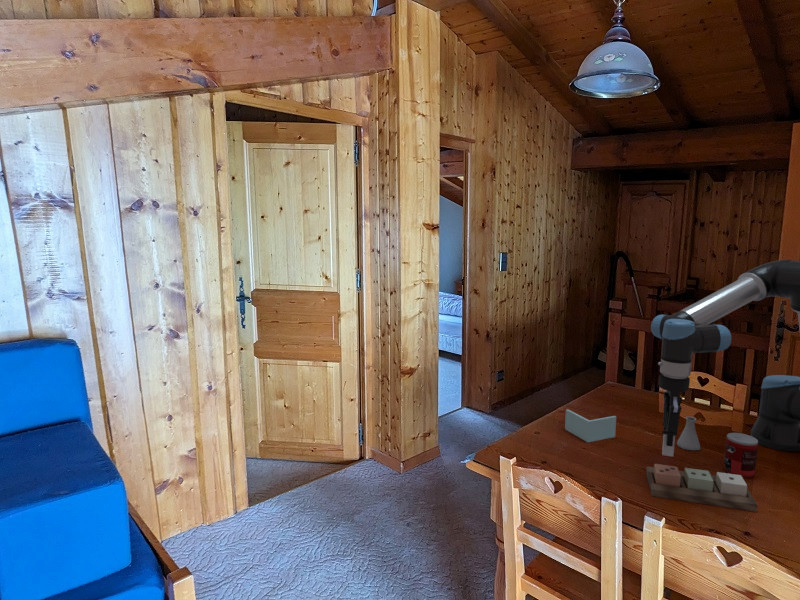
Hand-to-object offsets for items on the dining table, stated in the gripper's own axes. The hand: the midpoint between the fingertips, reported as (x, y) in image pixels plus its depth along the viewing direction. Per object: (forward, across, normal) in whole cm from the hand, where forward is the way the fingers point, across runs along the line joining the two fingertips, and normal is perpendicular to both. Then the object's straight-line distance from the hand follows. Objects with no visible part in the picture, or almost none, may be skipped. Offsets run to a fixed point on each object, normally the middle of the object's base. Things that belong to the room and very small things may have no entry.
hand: (667, 454), depth 148 cm
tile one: (+8, 0, +16) cm, 18 cm away
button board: (+10, 0, +8) cm, 13 cm away
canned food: (+10, -16, +22) cm, 29 cm away
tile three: (+8, 0, 0) cm, 8 cm away
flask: (+10, -31, +11) cm, 35 cm away
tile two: (+8, 0, +8) cm, 11 cm away
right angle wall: (+10, -32, -20) cm, 39 cm away
